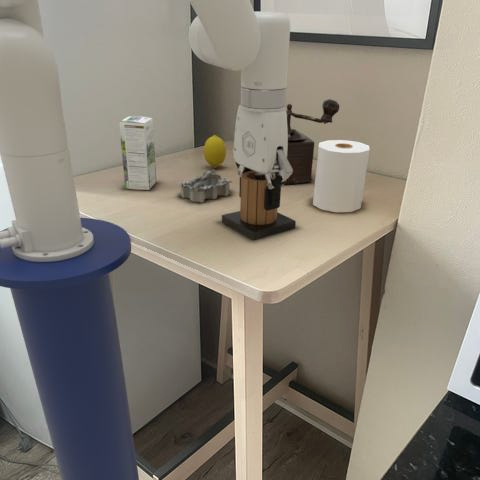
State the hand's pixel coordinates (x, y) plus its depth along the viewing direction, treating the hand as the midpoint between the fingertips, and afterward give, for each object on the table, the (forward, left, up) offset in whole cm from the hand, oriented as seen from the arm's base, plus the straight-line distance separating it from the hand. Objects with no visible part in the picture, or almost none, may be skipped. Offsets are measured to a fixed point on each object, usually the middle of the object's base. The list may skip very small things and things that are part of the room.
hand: (259, 201), depth 92 cm
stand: (0, 0, -5) cm, 5 cm away
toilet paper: (+21, 0, -5) cm, 22 cm away
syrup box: (-8, +33, -5) cm, 34 cm away
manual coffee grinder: (+26, +19, -5) cm, 33 cm away
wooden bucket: (0, 0, -3) cm, 3 cm away
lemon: (+14, +36, -5) cm, 39 cm away
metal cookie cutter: (+1, +20, -5) cm, 21 cm away
